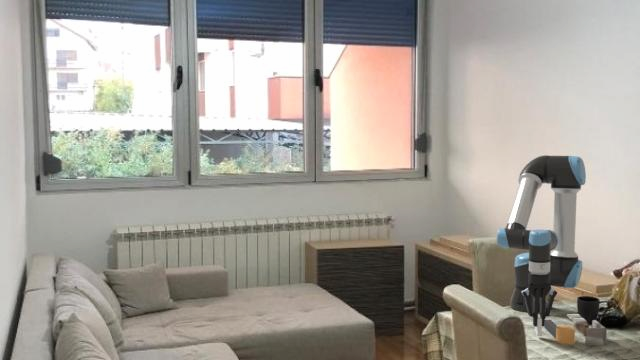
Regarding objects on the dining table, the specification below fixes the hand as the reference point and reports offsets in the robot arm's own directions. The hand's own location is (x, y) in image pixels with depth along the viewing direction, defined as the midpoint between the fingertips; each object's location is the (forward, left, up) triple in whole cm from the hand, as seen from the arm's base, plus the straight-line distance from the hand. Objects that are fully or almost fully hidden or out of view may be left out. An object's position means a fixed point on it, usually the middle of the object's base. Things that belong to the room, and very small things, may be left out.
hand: (538, 334), depth 259 cm
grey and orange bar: (-3, +8, -1) cm, 9 cm away
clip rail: (-2, +18, -1) cm, 18 cm away
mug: (-17, +26, -1) cm, 31 cm away
